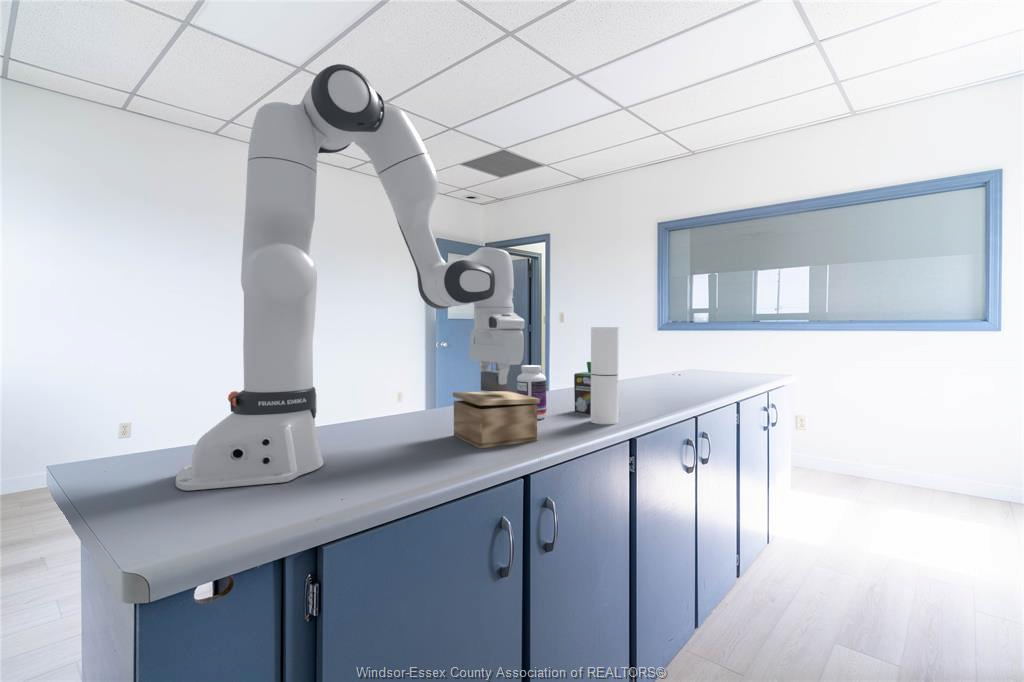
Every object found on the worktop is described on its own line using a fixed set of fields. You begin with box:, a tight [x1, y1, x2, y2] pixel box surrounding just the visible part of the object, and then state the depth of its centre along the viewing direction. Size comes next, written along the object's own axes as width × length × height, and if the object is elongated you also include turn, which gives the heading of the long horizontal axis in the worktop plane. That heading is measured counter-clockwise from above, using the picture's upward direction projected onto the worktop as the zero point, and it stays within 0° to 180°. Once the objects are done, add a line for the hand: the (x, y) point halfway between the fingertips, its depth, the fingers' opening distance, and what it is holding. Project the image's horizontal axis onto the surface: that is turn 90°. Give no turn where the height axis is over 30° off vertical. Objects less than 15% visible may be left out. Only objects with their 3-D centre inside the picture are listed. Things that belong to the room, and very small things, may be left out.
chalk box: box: [573, 361, 591, 415], centre depth 146 cm, size 9×9×15 cm
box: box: [453, 399, 538, 449], centre depth 111 cm, size 14×14×8 cm
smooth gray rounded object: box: [480, 370, 508, 392], centre depth 111 cm, size 6×6×4 cm
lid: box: [452, 390, 540, 406], centre depth 111 cm, size 15×15×1 cm
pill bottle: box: [516, 364, 547, 421], centre depth 135 cm, size 8×8×14 cm
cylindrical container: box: [590, 326, 620, 425], centre depth 130 cm, size 7×7×25 cm
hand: (494, 382), depth 111 cm, fingers closed on smooth gray rounded object, 6 cm apart
